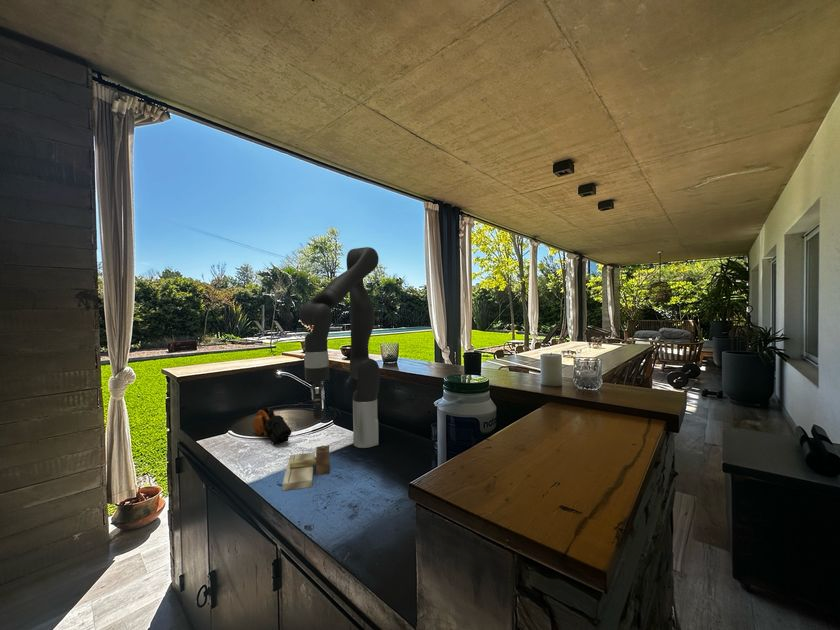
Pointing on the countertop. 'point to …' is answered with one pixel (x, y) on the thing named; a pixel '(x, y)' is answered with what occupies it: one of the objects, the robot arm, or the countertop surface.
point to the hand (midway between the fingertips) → (318, 414)
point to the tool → (271, 426)
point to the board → (299, 473)
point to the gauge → (316, 461)
